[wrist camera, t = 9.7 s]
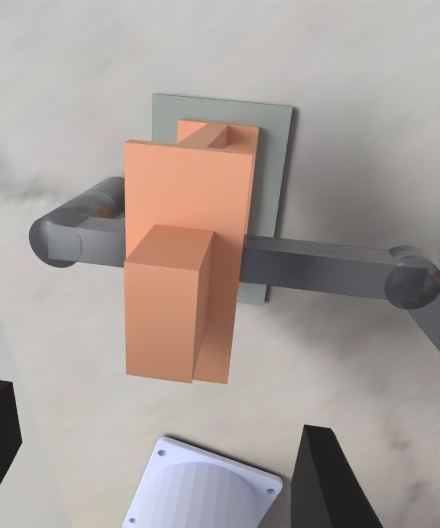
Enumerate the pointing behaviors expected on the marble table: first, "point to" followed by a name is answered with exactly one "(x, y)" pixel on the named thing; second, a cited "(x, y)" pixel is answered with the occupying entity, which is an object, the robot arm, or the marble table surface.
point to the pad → (266, 163)
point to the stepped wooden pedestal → (185, 248)
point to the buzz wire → (251, 257)
